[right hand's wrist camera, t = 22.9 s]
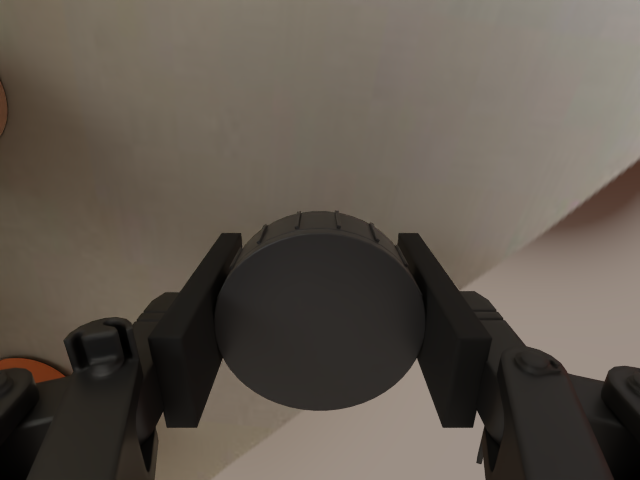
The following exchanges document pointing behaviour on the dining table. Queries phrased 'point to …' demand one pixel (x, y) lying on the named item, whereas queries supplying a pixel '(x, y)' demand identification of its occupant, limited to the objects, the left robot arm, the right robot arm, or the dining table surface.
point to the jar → (2, 109)
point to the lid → (319, 312)
